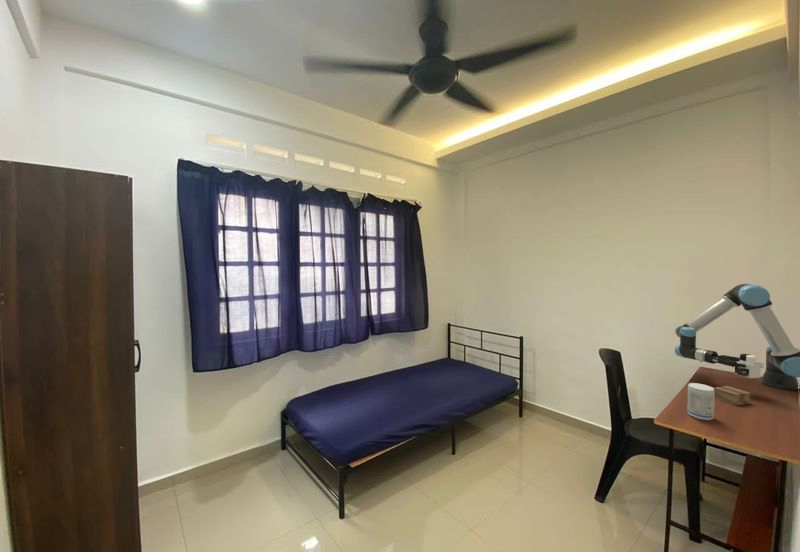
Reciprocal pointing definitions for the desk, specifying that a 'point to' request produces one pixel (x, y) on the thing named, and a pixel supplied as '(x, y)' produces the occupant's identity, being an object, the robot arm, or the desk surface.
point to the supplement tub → (700, 401)
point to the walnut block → (732, 395)
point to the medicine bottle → (747, 372)
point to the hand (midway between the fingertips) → (759, 366)
